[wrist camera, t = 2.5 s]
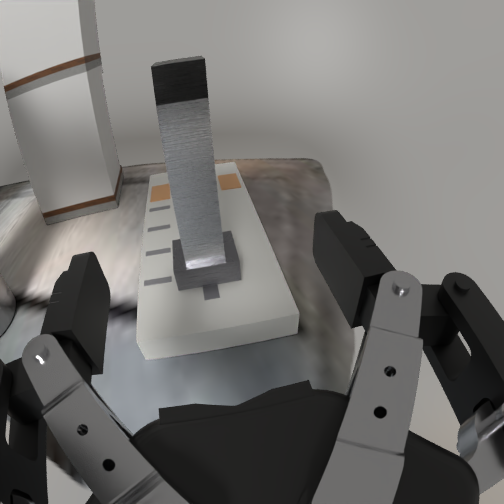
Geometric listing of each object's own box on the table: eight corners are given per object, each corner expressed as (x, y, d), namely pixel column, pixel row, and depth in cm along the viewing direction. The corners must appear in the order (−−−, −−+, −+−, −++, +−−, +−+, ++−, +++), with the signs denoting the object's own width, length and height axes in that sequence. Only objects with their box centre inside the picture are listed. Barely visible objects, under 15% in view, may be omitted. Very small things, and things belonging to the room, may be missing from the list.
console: (146, 360, 23) (136, 341, 22) (153, 190, 45) (150, 174, 43) (297, 333, 25) (299, 312, 23) (235, 177, 46) (234, 161, 45)
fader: (178, 290, 25) (132, 71, 14) (176, 258, 28) (140, 65, 18) (241, 280, 26) (223, 57, 15) (232, 249, 29) (216, 53, 18)
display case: (123, 176, 50) (92, -28, 27) (117, 207, 42) (75, -43, 19) (62, 191, 48) (23, -3, 25) (47, 225, 40) (-8, -9, 17)
